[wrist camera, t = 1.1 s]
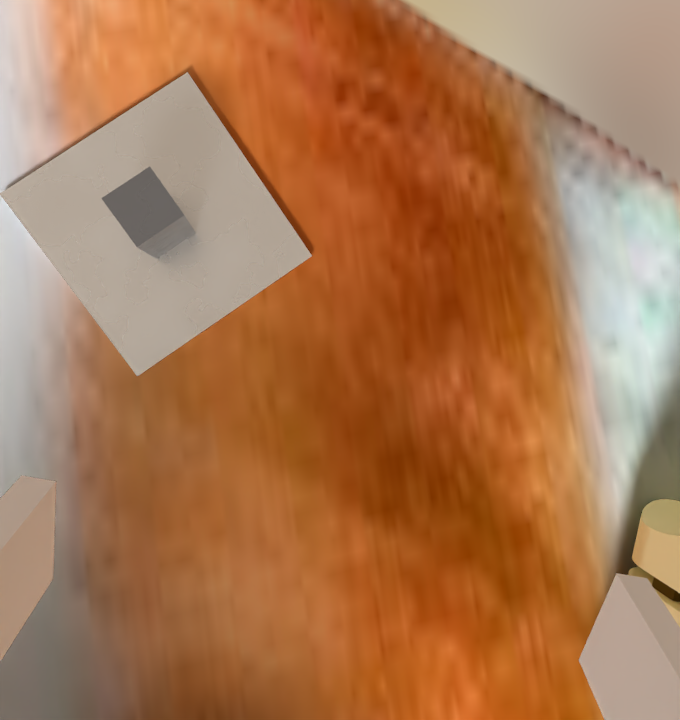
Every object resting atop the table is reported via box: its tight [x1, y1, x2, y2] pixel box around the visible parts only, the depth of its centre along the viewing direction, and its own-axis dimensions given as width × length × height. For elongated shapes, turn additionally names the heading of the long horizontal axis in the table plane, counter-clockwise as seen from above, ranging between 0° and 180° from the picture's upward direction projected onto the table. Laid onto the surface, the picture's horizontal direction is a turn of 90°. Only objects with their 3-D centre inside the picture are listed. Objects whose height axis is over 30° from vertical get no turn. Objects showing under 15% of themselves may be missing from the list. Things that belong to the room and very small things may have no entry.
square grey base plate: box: [0, 72, 312, 376], centre depth 32 cm, size 12×12×7 cm
